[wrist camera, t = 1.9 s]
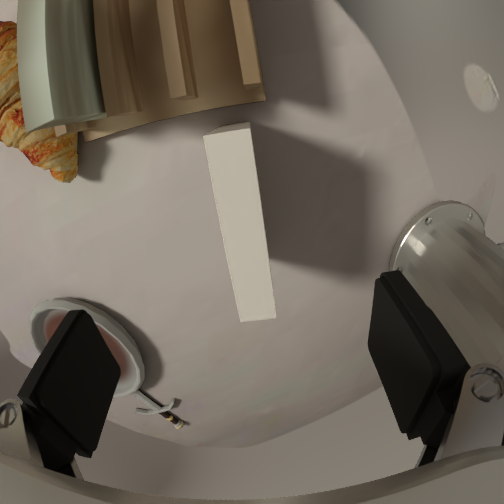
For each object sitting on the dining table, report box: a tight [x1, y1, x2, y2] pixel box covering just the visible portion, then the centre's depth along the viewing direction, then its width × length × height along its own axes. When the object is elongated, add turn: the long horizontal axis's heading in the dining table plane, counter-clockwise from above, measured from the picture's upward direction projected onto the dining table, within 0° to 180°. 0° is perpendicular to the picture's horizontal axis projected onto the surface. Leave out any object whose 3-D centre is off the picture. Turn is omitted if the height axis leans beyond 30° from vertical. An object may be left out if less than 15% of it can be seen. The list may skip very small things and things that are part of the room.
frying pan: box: [30, 298, 184, 429], centre depth 34 cm, size 17×3×28 cm
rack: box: [17, 0, 266, 142], centre depth 13 cm, size 15×14×10 cm
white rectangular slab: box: [203, 122, 276, 322], centre depth 20 cm, size 2×11×10 cm, turn 8°
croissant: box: [0, 21, 79, 183], centre depth 16 cm, size 21×10×8 cm, turn 30°
